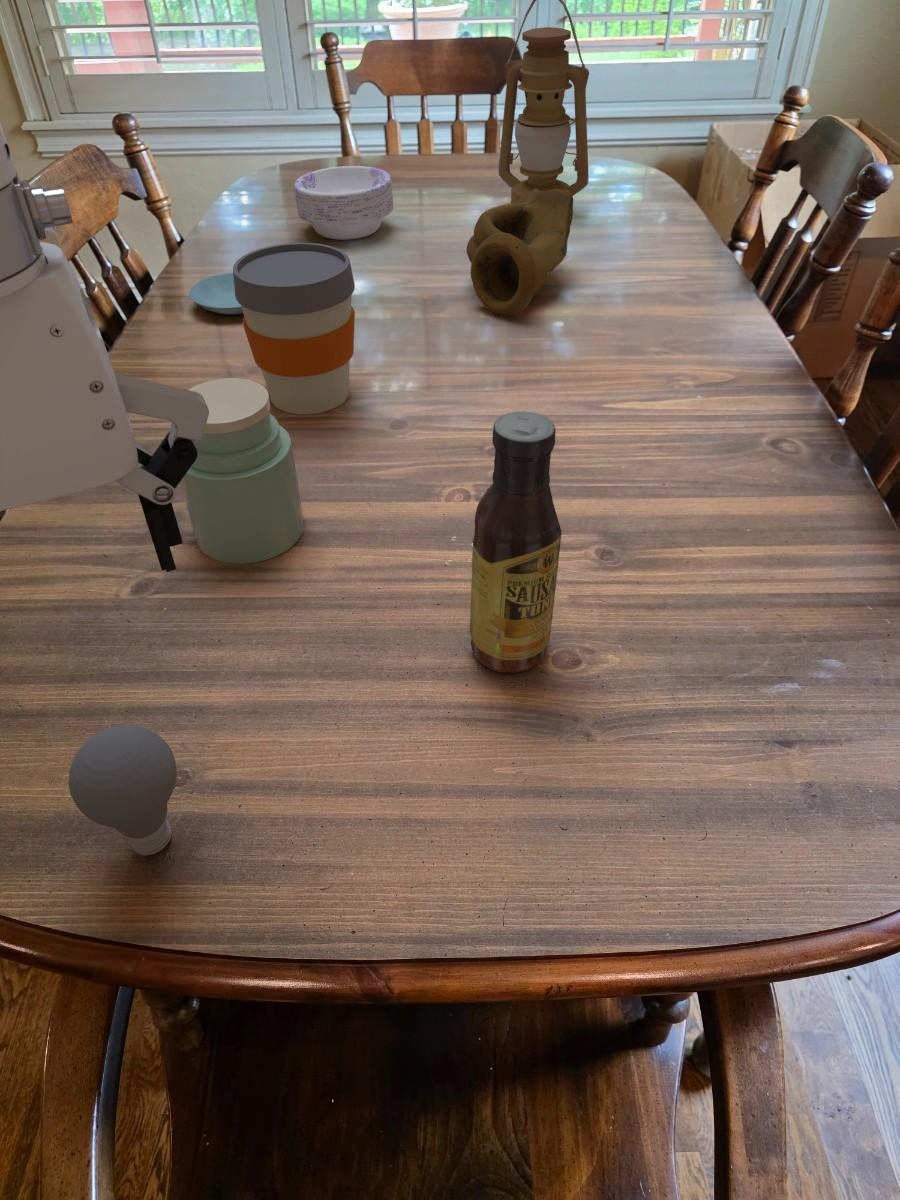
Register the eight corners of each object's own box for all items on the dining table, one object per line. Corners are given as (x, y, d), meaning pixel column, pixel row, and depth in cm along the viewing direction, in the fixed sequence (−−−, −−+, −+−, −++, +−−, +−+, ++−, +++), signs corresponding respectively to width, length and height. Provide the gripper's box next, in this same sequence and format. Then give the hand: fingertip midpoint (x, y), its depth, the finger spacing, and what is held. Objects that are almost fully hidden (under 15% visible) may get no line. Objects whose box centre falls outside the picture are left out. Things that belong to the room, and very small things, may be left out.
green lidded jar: (173, 546, 79) (134, 415, 70) (239, 489, 86) (211, 362, 77) (263, 576, 76) (235, 442, 67) (324, 514, 82) (306, 384, 73)
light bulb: (121, 801, 58) (76, 702, 52) (209, 802, 58) (175, 704, 51) (91, 882, 54) (37, 786, 47) (186, 884, 54) (146, 787, 47)
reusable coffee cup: (306, 359, 106) (288, 234, 96) (386, 386, 101) (377, 256, 91) (231, 402, 99) (204, 270, 89) (314, 434, 93) (294, 298, 83)
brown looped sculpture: (636, 220, 119) (551, 239, 104) (594, 303, 128) (511, 332, 113) (535, 153, 124) (440, 162, 109) (502, 238, 133) (410, 257, 118)
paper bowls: (292, 221, 143) (285, 169, 138) (381, 210, 147) (378, 159, 141) (309, 253, 132) (302, 198, 127) (405, 240, 136) (402, 187, 130)
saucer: (288, 288, 123) (286, 272, 121) (267, 324, 114) (264, 307, 112) (207, 286, 124) (204, 270, 122) (180, 322, 115) (176, 305, 113)
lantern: (588, 202, 148) (605, -12, 128) (584, 223, 140) (602, -1, 120) (500, 199, 150) (504, -12, 130) (491, 219, 142) (494, -2, 122)
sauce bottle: (508, 690, 65) (517, 466, 52) (453, 647, 69) (448, 427, 55) (568, 649, 68) (591, 428, 55) (512, 609, 72) (521, 393, 59)
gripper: (144, 179, 38) (220, 500, 49) (-320, 245, 33) (-115, 586, 44) (178, 234, 33) (254, 578, 44) (-365, 321, 28) (-121, 685, 39)
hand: (69, 582), depth 44 cm, fingers open, 9 cm apart
